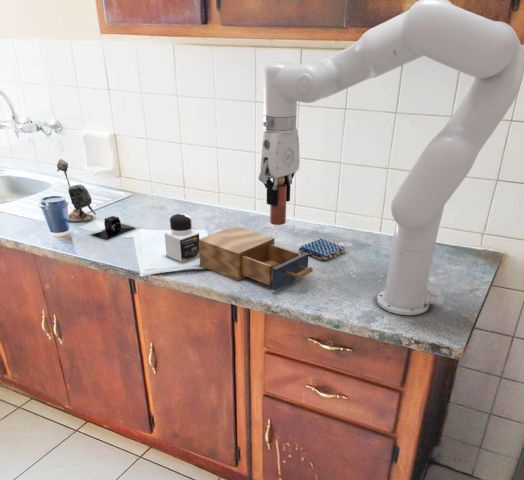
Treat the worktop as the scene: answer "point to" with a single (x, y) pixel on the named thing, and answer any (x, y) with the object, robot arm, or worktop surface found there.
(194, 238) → the medicine bottle
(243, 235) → the cabinet
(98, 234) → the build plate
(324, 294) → the worktop surface
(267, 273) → the drawer
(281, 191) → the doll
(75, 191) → the bird figurine
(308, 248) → the woven mat
